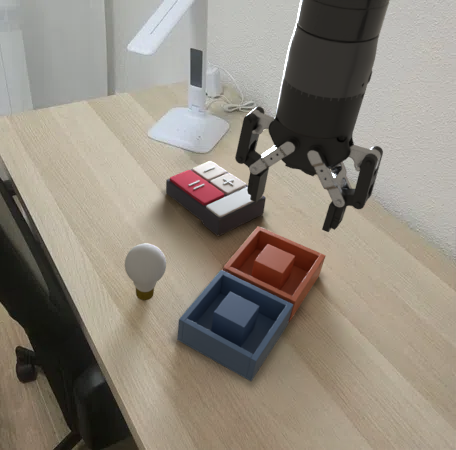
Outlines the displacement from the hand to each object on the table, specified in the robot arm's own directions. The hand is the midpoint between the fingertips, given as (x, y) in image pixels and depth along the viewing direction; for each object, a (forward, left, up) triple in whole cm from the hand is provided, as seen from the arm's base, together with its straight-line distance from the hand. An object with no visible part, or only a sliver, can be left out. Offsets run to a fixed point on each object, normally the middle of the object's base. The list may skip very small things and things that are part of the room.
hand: (291, 212), depth 61 cm
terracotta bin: (+4, -12, -24) cm, 27 cm away
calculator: (+21, -24, -24) cm, 40 cm away
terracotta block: (+4, -12, -24) cm, 27 cm away
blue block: (+4, 0, -24) cm, 24 cm away
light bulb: (+18, +2, -24) cm, 30 cm away
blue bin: (+4, 0, -24) cm, 24 cm away
